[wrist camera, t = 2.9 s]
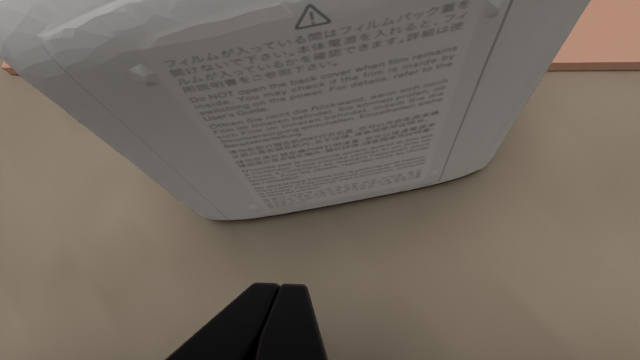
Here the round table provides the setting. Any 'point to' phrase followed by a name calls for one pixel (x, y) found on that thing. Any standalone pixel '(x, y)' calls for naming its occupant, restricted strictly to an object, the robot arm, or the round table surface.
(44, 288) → the round table surface
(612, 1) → the mat
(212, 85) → the photo printer
